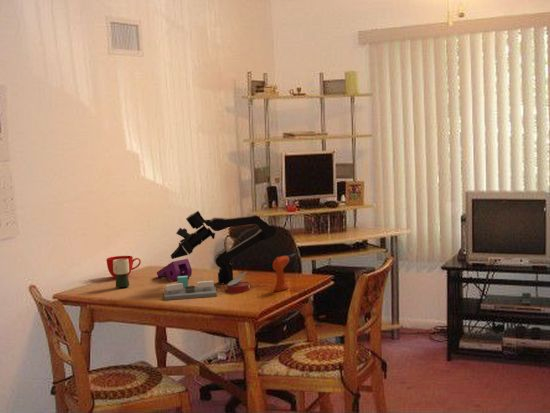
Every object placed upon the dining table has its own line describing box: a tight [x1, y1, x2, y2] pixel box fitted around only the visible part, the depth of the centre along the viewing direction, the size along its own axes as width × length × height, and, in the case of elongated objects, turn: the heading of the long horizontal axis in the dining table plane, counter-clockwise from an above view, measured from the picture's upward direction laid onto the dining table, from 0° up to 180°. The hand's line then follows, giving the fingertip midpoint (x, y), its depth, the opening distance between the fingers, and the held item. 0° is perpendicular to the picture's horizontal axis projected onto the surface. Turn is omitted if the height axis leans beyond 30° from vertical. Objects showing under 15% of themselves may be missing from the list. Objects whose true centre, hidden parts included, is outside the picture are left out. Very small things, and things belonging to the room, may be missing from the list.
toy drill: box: [272, 252, 296, 292], centre depth 316 cm, size 5×19×15 cm, turn 149°
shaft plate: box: [163, 280, 218, 301], centre depth 312 cm, size 22×16×5 cm
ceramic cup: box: [106, 255, 142, 279], centre depth 363 cm, size 13×17×10 cm
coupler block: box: [176, 276, 190, 288], centre depth 328 cm, size 5×4×5 cm
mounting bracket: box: [156, 258, 193, 282], centre depth 353 cm, size 9×8×18 cm
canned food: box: [226, 271, 251, 294], centre depth 315 cm, size 11×10×10 cm
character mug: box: [113, 259, 130, 289], centre depth 335 cm, size 11×7×13 cm, turn 153°
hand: (171, 257), depth 329 cm, fingers open, 9 cm apart
